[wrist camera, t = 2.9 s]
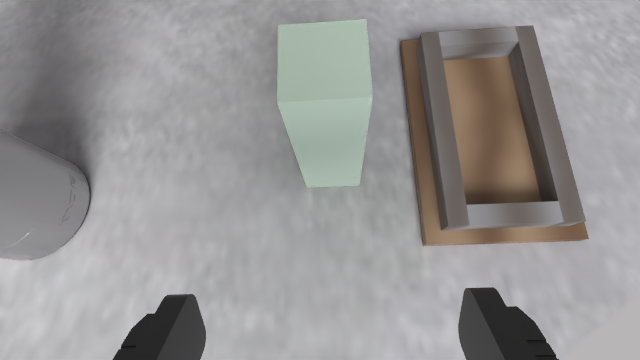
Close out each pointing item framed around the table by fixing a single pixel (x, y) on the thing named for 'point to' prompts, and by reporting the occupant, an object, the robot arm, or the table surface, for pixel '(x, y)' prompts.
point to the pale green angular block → (326, 98)
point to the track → (487, 140)
